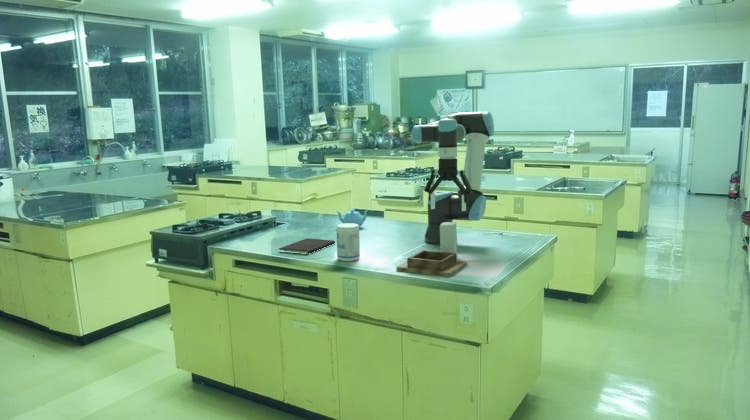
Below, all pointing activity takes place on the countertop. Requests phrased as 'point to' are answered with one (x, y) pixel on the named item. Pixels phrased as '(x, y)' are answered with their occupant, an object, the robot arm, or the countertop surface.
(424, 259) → the bottle stand
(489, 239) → the countertop surface
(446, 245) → the skincare box
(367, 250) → the countertop surface
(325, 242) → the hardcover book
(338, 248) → the supplement tub
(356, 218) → the teapot
